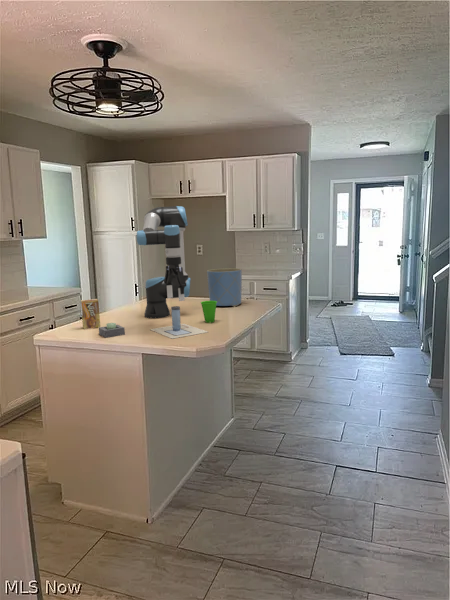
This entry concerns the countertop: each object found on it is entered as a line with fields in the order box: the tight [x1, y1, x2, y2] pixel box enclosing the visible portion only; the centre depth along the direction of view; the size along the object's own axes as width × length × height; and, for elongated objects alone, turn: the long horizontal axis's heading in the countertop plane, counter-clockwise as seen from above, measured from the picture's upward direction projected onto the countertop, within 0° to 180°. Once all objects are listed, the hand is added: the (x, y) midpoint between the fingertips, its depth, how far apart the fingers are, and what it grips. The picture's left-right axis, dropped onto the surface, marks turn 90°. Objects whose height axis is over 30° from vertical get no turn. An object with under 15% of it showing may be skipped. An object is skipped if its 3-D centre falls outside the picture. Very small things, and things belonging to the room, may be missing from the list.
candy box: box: [80, 298, 101, 330], centre depth 249 cm, size 9×4×15 cm, turn 116°
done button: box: [105, 322, 117, 329], centre depth 231 cm, size 5×5×4 cm
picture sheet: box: [149, 323, 209, 340], centre depth 233 cm, size 26×20×1 cm
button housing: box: [98, 324, 126, 338], centre depth 231 cm, size 10×10×4 cm
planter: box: [206, 267, 243, 308], centre depth 303 cm, size 23×23×24 cm
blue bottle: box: [170, 305, 182, 331], centre depth 232 cm, size 4×4×12 cm
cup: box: [200, 300, 217, 324], centre depth 252 cm, size 9×9×11 cm
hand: (175, 299), depth 231 cm, fingers open, 12 cm apart
